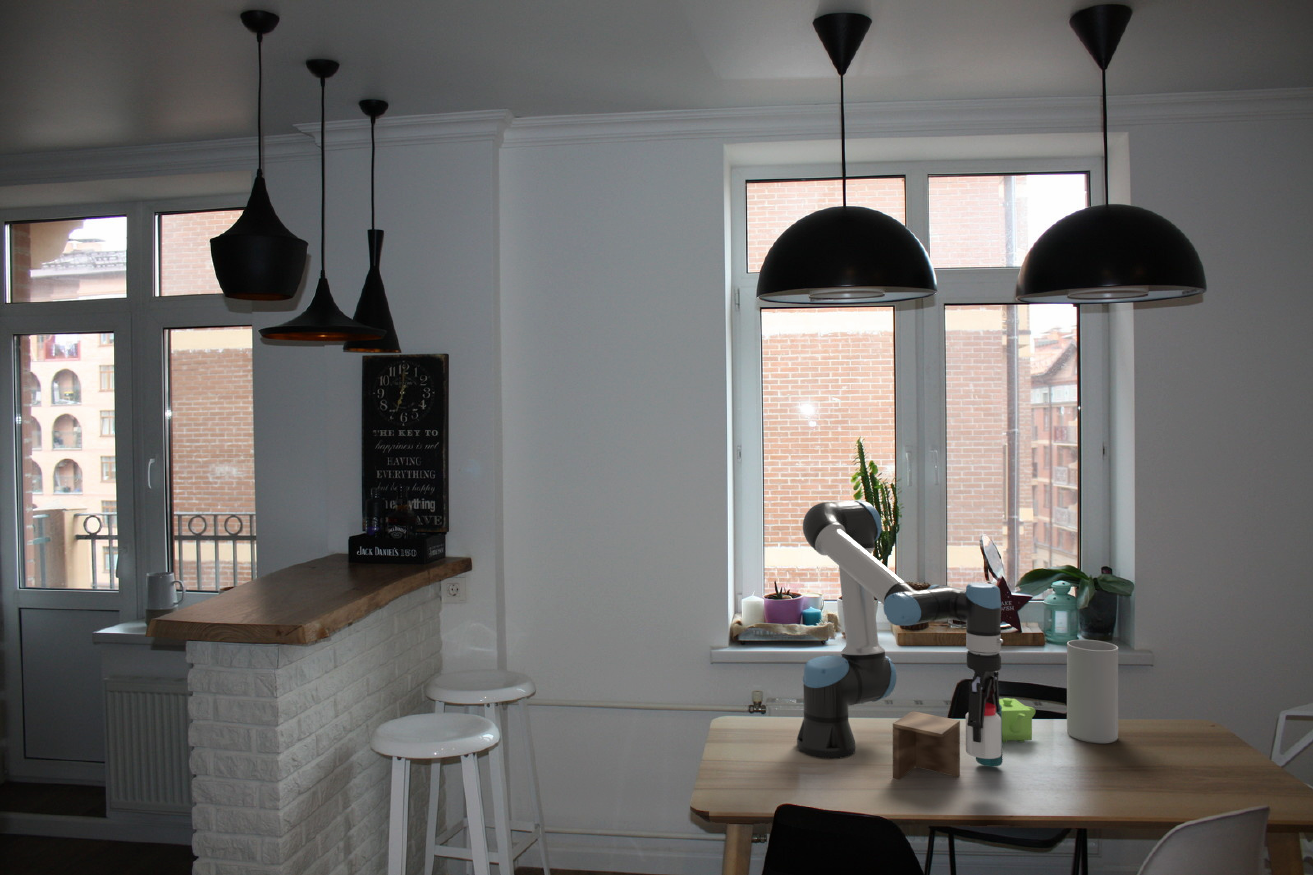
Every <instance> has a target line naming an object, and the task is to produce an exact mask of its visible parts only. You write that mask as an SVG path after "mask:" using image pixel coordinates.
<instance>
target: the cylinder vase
mask: <svg viewBox="0 0 1313 875" xmlns="http://www.w3.org/2000/svg"><path fill="white" fill-rule="evenodd" d="M1066 732H1067V734H1068V735H1069V736H1070V737H1072V738H1073V739H1076V740H1078V741H1081V742H1086V743H1091V744H1111V743H1115V742H1116V741H1117V740H1118V738H1119V646H1117V645H1115V644H1113V643H1110V642H1107V641H1101V640H1094V639H1073V640H1068V641H1067V642H1066Z"/></svg>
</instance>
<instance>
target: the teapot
mask: <svg viewBox="0 0 1313 875" xmlns="http://www.w3.org/2000/svg"><path fill="white" fill-rule="evenodd" d="M999 704H1000V705H1001V706H1002V734H1003V735H1002V736H1003V737H1002V739H1003V740H1002V741H1003V743H1007V741H1008V742H1009V741H1016V742H1020V743H1025V741H1033V717H1034V716H1035V715H1036V709H1035V708H1034V707H1032V706H1027V705H1024V704H1023V703H1021V702H1020V701H1019V700H1017V699H1016V698H1009V697H1004V698H999Z"/></svg>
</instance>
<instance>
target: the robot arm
mask: <svg viewBox="0 0 1313 875" xmlns="http://www.w3.org/2000/svg"><path fill="white" fill-rule="evenodd" d="M882 524H883V523H882V519H881V516H880V513H879V512H878V510H877V509H876V507H874V506H873V505H872V504H871V503H870V502H867V501H863V500H853V499H851V500H845V501H842V500H841V501H830V502H829V501H826V502H820V503H817V504H815V505H813V506H812V507H810V509H808V511H807V512H806V514H804V518H803V520H802V532H803V536H804V538H805V540H806V542H807V543H808V545H810V546H811V547H812V549H814V550H815V551H816V553H818V554H819V555H821V556H827V557H828V558H829V559H830V560H832V561H833V563H835V564H836V565H837V566H838V568H839V569H838V570H839V571H838V572H839V580H840V593H841V601H842V602H841V603H842V614H843V624H844V635H845V646H844V647H843V649H842V650H841V653H840V654H841V656H840V655H821V656H816V657H813V658H812V659H810V660H808V661H807V662H806V663H805V665H804V667H803V677H802V683H803V686H802V687H803V719H802V722H801V725H800V728H799V731H798V734H797V737H796V748H797V750H798V751H799V752H801V753H802V754H803V755H807V756H809V757H813V758H818V759H825V760H827V759H829V760H831V759H832V760H833V759H844V758H848V757H851V756H852V755H853V754H855V753H856V741H855V740H856V739H855V737H854V733H853V731H852V728H851V725H850V720H849V706H854V705H859V704H864V703H870V702H871V703H872V702H873V703H874V702H877V701H880V700H882V699H886V698H887V697H889V696H890V695H891V693H893V691H894V690H895V688H896V684H897V668H896V666H895V664H894V663H893V661H892V659H891V658H890V657H889V656H887V655H886V650H885V648H884V647H883V646H881V645H880V643H879V637H878V626H877V615H876V605H875V599H876V600H877V601H879V602H880V603H881V604H882V606H883V613H884V615H885V616H886V620H887V621H888V622H889V623H890V624H892V625H894V626H898V627H900V626H902V627H903V626H905V627H906V626H914V625H919V624H925V623H931V622H937V621H944V620H954V621H960V622H963V623H965V624H966V625H965V628H966V629H965V630H966V632H965V633H966V635H965V638H966V640H965V641H966V642H965V643H966V646H965V647H966V649H967V651H966V667H967V668H968V669H970V670H973V672H974V674H973V676H972V680H971V681H969V682H968V712H967V713H968V723H967V725H968V726H971V727H972V755H977V756H981V757H985V727H983V722H984V714H985V705H986V703H991V704H993V705H995V706H996V713H997V712H1000V705H999V699H1000V690H999V675H1000V674H999V671H1001V669H1002V654H1001V653H1000V651H1001V650H1002V644H1003V643H1004V640H1003V639H1002V638H1001V637H1002V636H1001V635H1002V633H1001V632H1002V630H1001V617H1002V602H1001V601H1002V599H1001V590H1000V587H998V586H997V585H996V584H993V583H984V582H970V583H968V584H967V585H966V588H965V589H963V588H960V587H959V588H958V587H953V586H950V585H947V584H946V585H945V584H932V585H930V586H929V587H928V588H926V589H920V590H919V589H918V590H916V589H914V588H913V587H912V586H910V584H908V583H907V582H906V581H904V580H903V579H902V578H900V577H899V576H898V575H897V574H896V573H895V572H894V571H892V569H890V568H889V567H887V565H885V564H883V563H882V562H881V561H880V560H879V559H877V557H875V555H873V554H872V553H873V552H874V551H875V549H876V548H875V547H876V546H875V542H876V541H877V540H878V539H879V538H880V535H881V534H882V530H883V525H882ZM997 714H998V715H999V716H1001V713H997Z"/></svg>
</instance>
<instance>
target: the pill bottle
mask: <svg viewBox="0 0 1313 875" xmlns="http://www.w3.org/2000/svg"><path fill="white" fill-rule="evenodd" d="M967 723H968V712H967V713H966V714H965V752H966V753H967V754H968V755H969V756H971V757H974V758H976V757H978V758H984V759H995V758H999V757H1000V756H1001V717H1000V716H999V715H998V714H997V713H996V706H995V705H993V704H991V703H986V705H985V714H984V722H983V727H985V757H981V756H977V755H972V727H971V726H968V725H967Z"/></svg>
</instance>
